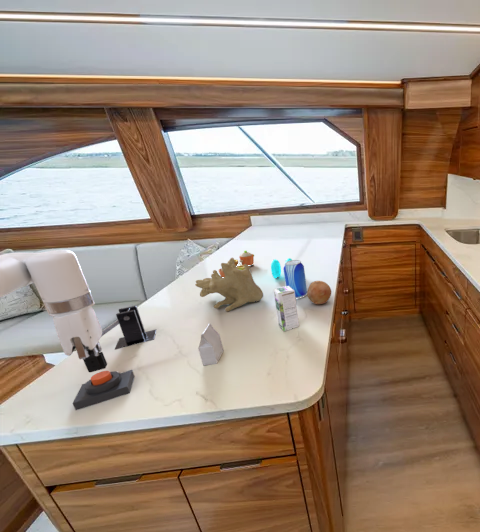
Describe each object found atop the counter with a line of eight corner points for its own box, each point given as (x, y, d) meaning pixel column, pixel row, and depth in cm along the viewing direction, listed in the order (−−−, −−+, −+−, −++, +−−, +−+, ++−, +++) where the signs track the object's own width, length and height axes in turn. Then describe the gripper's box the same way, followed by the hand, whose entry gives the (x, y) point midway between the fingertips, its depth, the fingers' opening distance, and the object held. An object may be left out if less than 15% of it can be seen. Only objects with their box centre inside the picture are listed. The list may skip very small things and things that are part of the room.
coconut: (337, 300, 128) (335, 278, 124) (321, 310, 119) (318, 287, 116) (319, 296, 132) (317, 275, 129) (303, 305, 124) (300, 283, 120)
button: (91, 387, 74) (88, 381, 73) (94, 379, 77) (92, 374, 76) (110, 382, 76) (108, 376, 75) (113, 374, 78) (111, 368, 78)
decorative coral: (275, 281, 118) (212, 247, 109) (243, 330, 115) (175, 299, 106) (275, 275, 142) (223, 247, 133) (248, 316, 138) (193, 290, 129)
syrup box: (278, 325, 108) (271, 289, 103) (294, 320, 112) (288, 284, 107) (283, 332, 104) (277, 294, 99) (300, 326, 107) (294, 289, 103)
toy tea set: (229, 265, 178) (225, 249, 175) (256, 262, 182) (254, 247, 178) (215, 280, 154) (211, 262, 151) (248, 277, 158) (244, 259, 155)
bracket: (115, 352, 94) (102, 319, 91) (120, 340, 101) (108, 309, 97) (155, 341, 100) (144, 310, 96) (157, 331, 106) (147, 301, 102)
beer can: (292, 292, 137) (287, 259, 132) (310, 292, 136) (305, 259, 131) (284, 300, 129) (279, 265, 124) (303, 300, 129) (299, 265, 123)
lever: (97, 344, 92) (89, 340, 91) (102, 336, 97) (94, 331, 96) (134, 317, 96) (127, 313, 94) (137, 310, 100) (130, 306, 99)
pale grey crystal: (223, 350, 94) (216, 322, 91) (217, 363, 88) (209, 333, 85) (210, 352, 93) (203, 324, 90) (203, 365, 87) (194, 335, 84)
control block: (75, 410, 71) (69, 397, 70) (85, 391, 78) (79, 378, 77) (129, 393, 77) (124, 380, 75) (134, 376, 83) (130, 364, 82)
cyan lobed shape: (293, 279, 153) (290, 261, 149) (272, 281, 151) (269, 262, 147) (295, 273, 162) (292, 255, 159) (275, 275, 160) (272, 257, 157)
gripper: (58, 296, 73) (86, 359, 79) (33, 320, 61) (67, 392, 67) (100, 289, 77) (123, 349, 83) (83, 310, 65) (111, 379, 71)
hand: (98, 368), depth 75 cm, fingers closed
